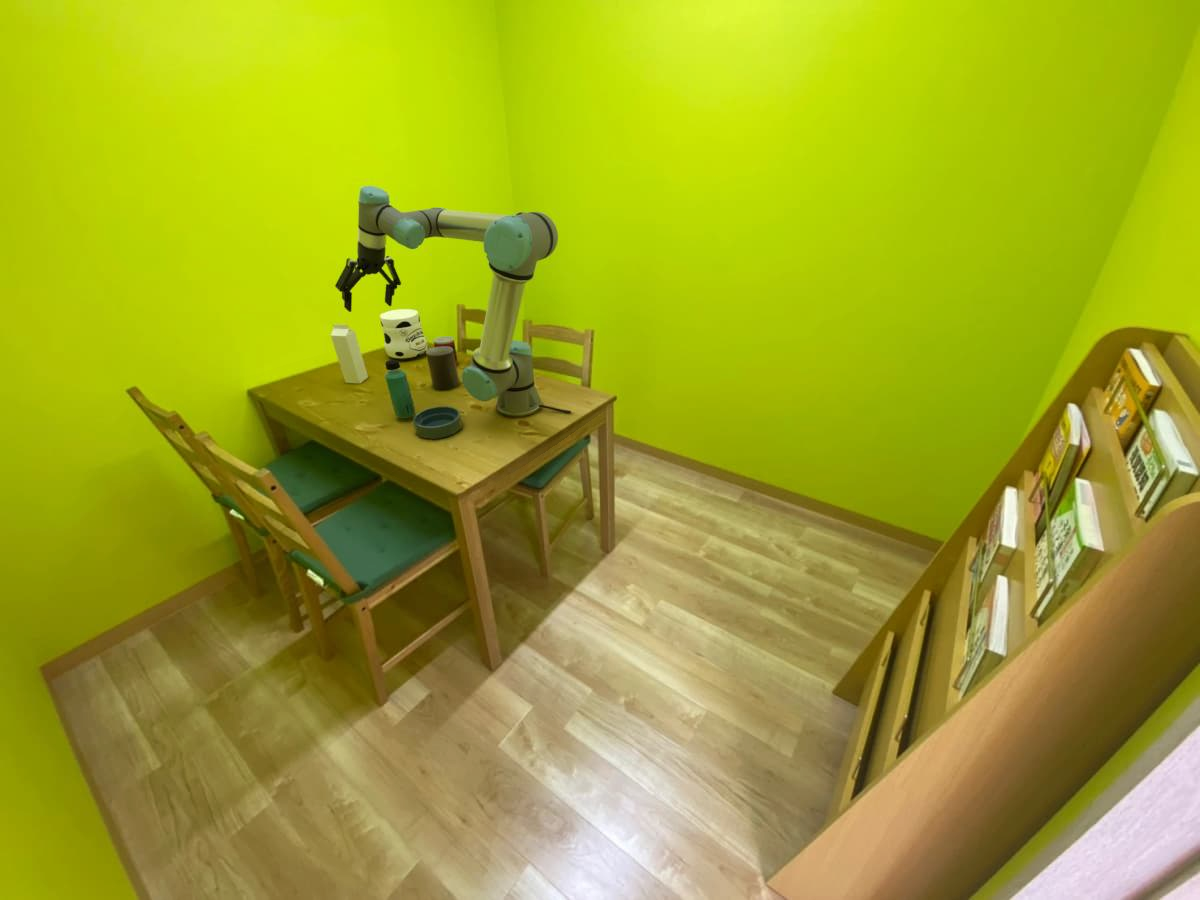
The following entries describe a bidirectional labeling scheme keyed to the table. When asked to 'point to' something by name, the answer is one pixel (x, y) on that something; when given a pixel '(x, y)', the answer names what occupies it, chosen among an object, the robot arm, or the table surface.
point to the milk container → (403, 334)
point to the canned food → (446, 344)
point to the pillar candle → (442, 368)
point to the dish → (437, 422)
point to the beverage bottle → (399, 390)
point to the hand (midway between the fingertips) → (368, 306)
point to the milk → (348, 354)
